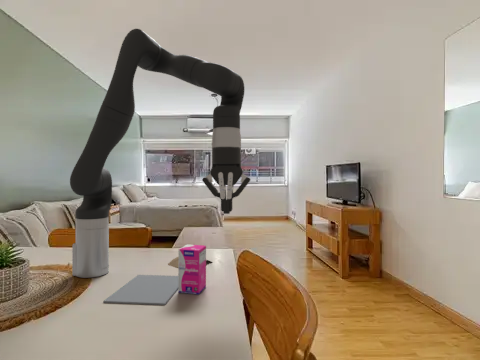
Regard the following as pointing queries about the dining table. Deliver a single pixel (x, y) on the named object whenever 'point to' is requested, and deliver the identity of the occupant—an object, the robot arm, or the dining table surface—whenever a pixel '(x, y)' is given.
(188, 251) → the supplement box
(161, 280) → the rubber mat
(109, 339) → the dining table surface
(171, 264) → the clay tablet
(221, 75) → the robot arm
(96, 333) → the dining table surface
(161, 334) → the dining table surface
